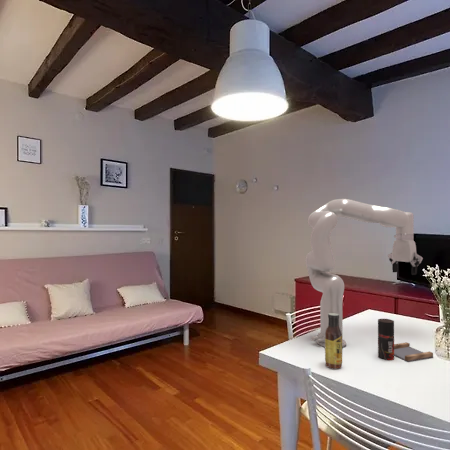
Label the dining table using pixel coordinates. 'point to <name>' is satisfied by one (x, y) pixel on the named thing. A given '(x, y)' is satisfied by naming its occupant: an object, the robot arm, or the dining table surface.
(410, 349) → the mat
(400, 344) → the side rails
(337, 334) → the sauce bottle
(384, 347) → the deodorant
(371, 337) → the dining table surface
